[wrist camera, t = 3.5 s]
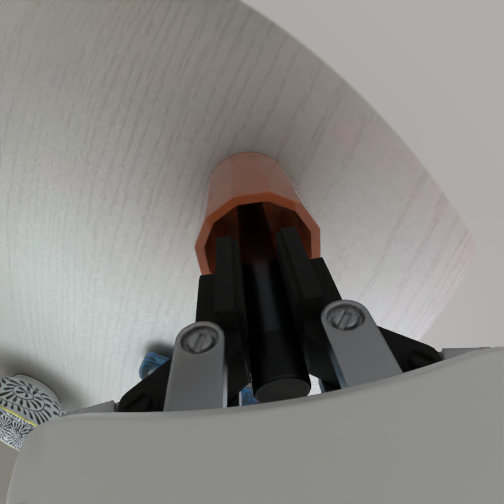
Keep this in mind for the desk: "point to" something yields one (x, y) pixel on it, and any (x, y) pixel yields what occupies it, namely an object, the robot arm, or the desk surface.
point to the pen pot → (245, 192)
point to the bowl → (24, 408)
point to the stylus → (269, 314)
